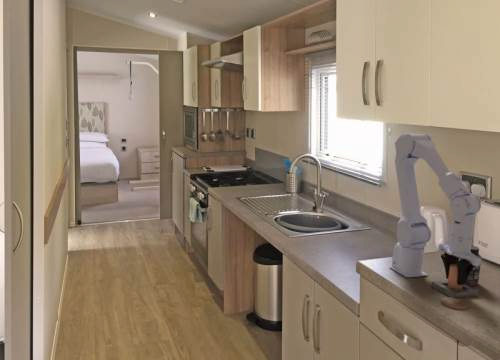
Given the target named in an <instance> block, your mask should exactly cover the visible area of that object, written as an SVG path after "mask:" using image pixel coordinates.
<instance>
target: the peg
mask: <svg viewBox="0 0 500 360" xmlns="http://www.w3.org/2000/svg"><path fill="white" fill-rule="evenodd" d="M457 277H458V269H457V264H451V265H450V269H449V277H448V279H447V280H448V284H447V287H449V288H450V289H452V290H462V285H458V284H457Z"/></svg>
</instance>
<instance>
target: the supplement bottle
mask: <svg viewBox="0 0 500 360" xmlns="http://www.w3.org/2000/svg"><path fill="white" fill-rule="evenodd" d="M470 252H471V253H472V254H474V255H475V256H477V257H478V258H480V259H481V260H482V256H481V255H480V247H478V246H476V245H471V250H470ZM459 261H462V259H460V258H459ZM481 264H482V263H481ZM481 264H480V266H475V267H474V268H473V270H472V271H471V272H470V274H469V276H468V278H467V280H466V282H465V284H466V285H468V286H477V285H478V284H479V279H480V271H481Z"/></svg>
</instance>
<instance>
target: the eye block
mask: <svg viewBox="0 0 500 360" xmlns="http://www.w3.org/2000/svg"><path fill="white" fill-rule="evenodd" d="M447 284H448V279H446V280H434V281H433V280H432V281H431V286H430V287H431V288H433V289H435V290H437V291H438V292H440V293H441V294H445V295H446V296H447V297H451V298H457V299H460V298H461V299H462V298H470V297H478V296H479V292H480V291H479V290H478V289H477V288H474V287H472V286H471V285H466V284H465V285H462V290H452V289H450V288H449V287H447Z"/></svg>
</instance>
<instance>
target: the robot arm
mask: <svg viewBox="0 0 500 360" xmlns="http://www.w3.org/2000/svg"><path fill="white" fill-rule="evenodd" d="M394 146H395V147H394V148H395V159H394V164H395V171H396V172H395V174H396V179H397V187H398V193H399V200H400V207H401V215H402V217H400V219H399V220H398V221H397V224H396V225H397V231H396V239H397V241H398V242H397V243H396V244H395V245H394V247H393V250H392V261H391V265H389V267H388V268H389V269H392V270H393V271H395V272H396V273H398V274H399V275H402V276H403V277H406V278H415V277H426V276H428V273H426V272H425V271H423V263H424V257H425V247H427V243H428V242H429V241H430V240H432V239H431V238H432V230H431V228H430V227H429V224H428V221H427V219H426V217H424V216H423V214H422V213H421V208H420V201H419V200H420V199H419V195H418V192H419V191H418V187H417V180H416V174H415V166H414V165H415V164H416V163H417V162H418V160H419V159H423V160H424V162H425V163H426V164H427V165H428V166H429V168H431V170H432V171H433V172H434V174H435V175H436V176H437V178H438V182H437V183H438V186H439V188H440V189H441V191H442V192H443V193H444V195H445V196H446V198H447V199H448V200H449V202H450V203H449V209H450V211H451V213H452V215H451V218H452V221H451V230H450V237H449V238H450V239H449V244H447V243H439V244H438V251H441V252H444V253H441V254H440V258H441V260H442V262H443V265H444V270H445V278H446V280H448V277H449V269H450V265H451V264H457V269H458V277H457V284H458V285H465V282H466V280H467V278H468V276H469V274H470V272H471V271H472V270H473V268H474V267H475V266H480V267H481V265H480V264H482V258H481V259H480V258H478V257H477V256H475V255H474V254H472V253H471V252H470V250H471V246H472V241H473V234H474V226H475V221H476V214H477V213H478V212H480V210H481V208H482V203H481V200H480V198H479V196H478V195H476V194H475V193H471V191H470V190H469V189H468V188H467V187H466V186H465V184H464V182H463V181H462V177H461V176H460V174H457V173H456V172H451V171H450V170H449V169H448V167H447V165H446V164H445V162H444V160H443V159H442V157H441V155H440V153H439V152H438V150H437V149H436V143H435V141H434V140H433V139H432V137H431V136H430V135H429V134H427V133H406V132H405V133H402V134H400V135H399V137H398V138H397V139H396V141H395V142H394ZM460 259H462V261H460Z"/></svg>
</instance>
